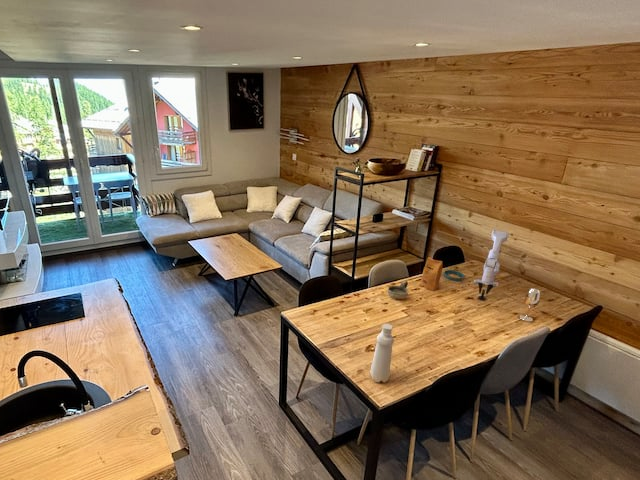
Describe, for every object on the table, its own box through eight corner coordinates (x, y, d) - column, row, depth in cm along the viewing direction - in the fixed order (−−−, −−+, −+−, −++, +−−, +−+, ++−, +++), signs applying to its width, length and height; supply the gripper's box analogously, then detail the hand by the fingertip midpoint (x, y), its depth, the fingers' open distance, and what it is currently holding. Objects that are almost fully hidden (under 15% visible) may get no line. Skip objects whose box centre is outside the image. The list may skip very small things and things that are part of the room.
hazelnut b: (447, 275, 300) (448, 273, 299) (450, 275, 300) (450, 273, 299) (447, 276, 298) (448, 274, 298) (450, 276, 298) (450, 274, 297)
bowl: (382, 296, 268) (384, 283, 264) (396, 288, 278) (398, 276, 275) (400, 304, 258) (402, 291, 254) (414, 296, 269) (416, 283, 265)
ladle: (477, 296, 271) (479, 288, 268) (484, 298, 270) (486, 289, 267) (478, 299, 267) (481, 290, 264) (485, 301, 266) (488, 291, 263)
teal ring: (442, 273, 304) (443, 268, 303) (461, 276, 301) (462, 271, 299) (443, 281, 292) (444, 276, 290) (464, 284, 288) (465, 279, 286)
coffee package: (425, 281, 290) (430, 254, 282) (440, 287, 282) (446, 260, 273) (417, 285, 285) (422, 257, 276) (432, 291, 276) (438, 263, 267)
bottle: (385, 371, 196) (394, 321, 184) (390, 384, 188) (400, 332, 176) (367, 371, 196) (375, 321, 184) (372, 384, 187) (380, 332, 175)
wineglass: (532, 317, 248) (541, 289, 240) (533, 323, 242) (543, 294, 234) (518, 314, 251) (526, 286, 243) (519, 319, 244) (528, 291, 237)
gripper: (476, 276, 259) (472, 294, 265) (501, 279, 256) (495, 297, 261) (475, 271, 266) (471, 289, 271) (498, 275, 262) (493, 293, 267)
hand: (483, 293), depth 266 cm, fingers open, 4 cm apart
